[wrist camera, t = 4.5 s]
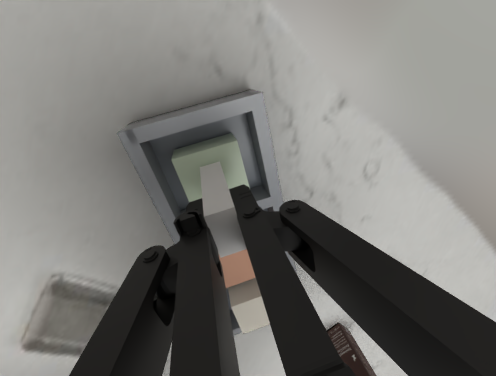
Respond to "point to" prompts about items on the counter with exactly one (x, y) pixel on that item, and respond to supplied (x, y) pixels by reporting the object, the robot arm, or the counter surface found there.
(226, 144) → the key sage
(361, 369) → the box
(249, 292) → the key ivory
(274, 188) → the gray divided tray
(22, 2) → the counter surface
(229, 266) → the key terracotta
